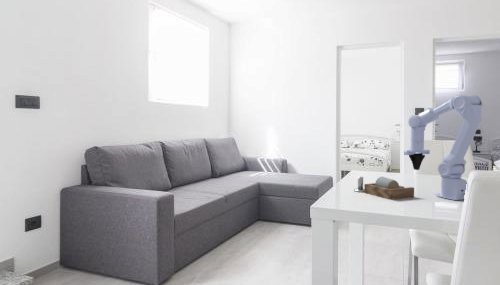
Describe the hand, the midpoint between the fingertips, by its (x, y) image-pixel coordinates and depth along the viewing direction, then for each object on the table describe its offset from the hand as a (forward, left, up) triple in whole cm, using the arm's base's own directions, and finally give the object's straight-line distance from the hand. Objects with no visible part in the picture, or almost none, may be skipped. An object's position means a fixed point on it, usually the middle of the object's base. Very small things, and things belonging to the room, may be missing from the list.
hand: (416, 169), depth 173 cm
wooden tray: (-3, +19, -10) cm, 22 cm away
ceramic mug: (-2, +18, -10) cm, 21 cm away
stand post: (+9, +25, -10) cm, 29 cm away
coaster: (+9, +4, -10) cm, 14 cm away
